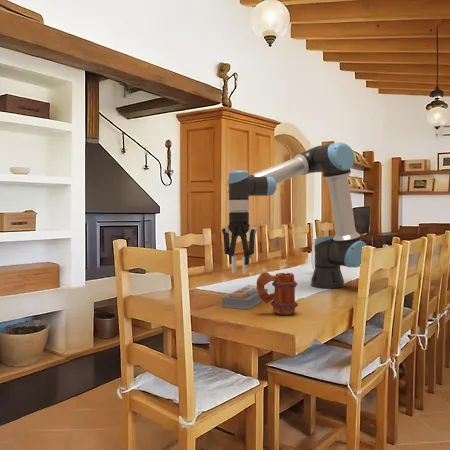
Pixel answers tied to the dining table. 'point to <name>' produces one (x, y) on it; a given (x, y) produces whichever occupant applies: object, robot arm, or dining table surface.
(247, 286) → the key
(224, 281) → the dining table surface
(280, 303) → the mug
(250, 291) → the key
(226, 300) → the key board
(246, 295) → the key
